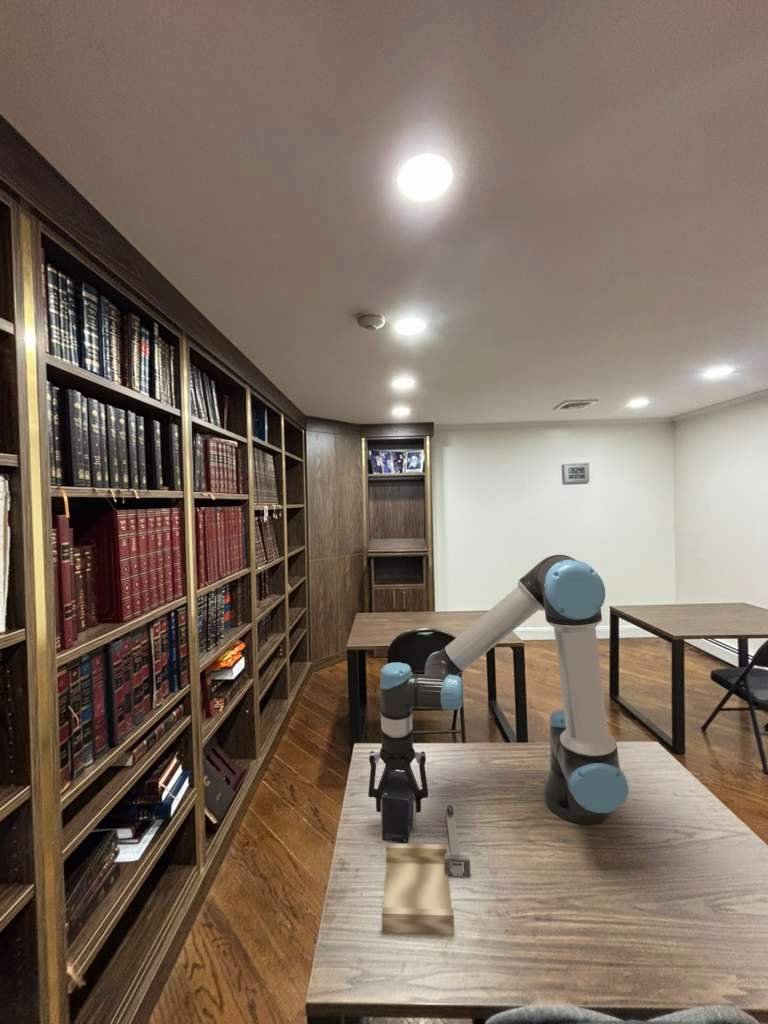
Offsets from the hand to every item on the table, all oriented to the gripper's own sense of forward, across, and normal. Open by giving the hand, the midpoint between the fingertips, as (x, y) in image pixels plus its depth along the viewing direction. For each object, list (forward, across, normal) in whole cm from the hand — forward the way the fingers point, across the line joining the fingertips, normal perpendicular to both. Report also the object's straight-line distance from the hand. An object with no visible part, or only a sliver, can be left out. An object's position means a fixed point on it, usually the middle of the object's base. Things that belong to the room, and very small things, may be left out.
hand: (398, 823), depth 106 cm
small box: (+1, 0, 0) cm, 1 cm away
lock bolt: (+1, -12, +5) cm, 13 cm away
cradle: (+1, -6, +18) cm, 19 cm away
